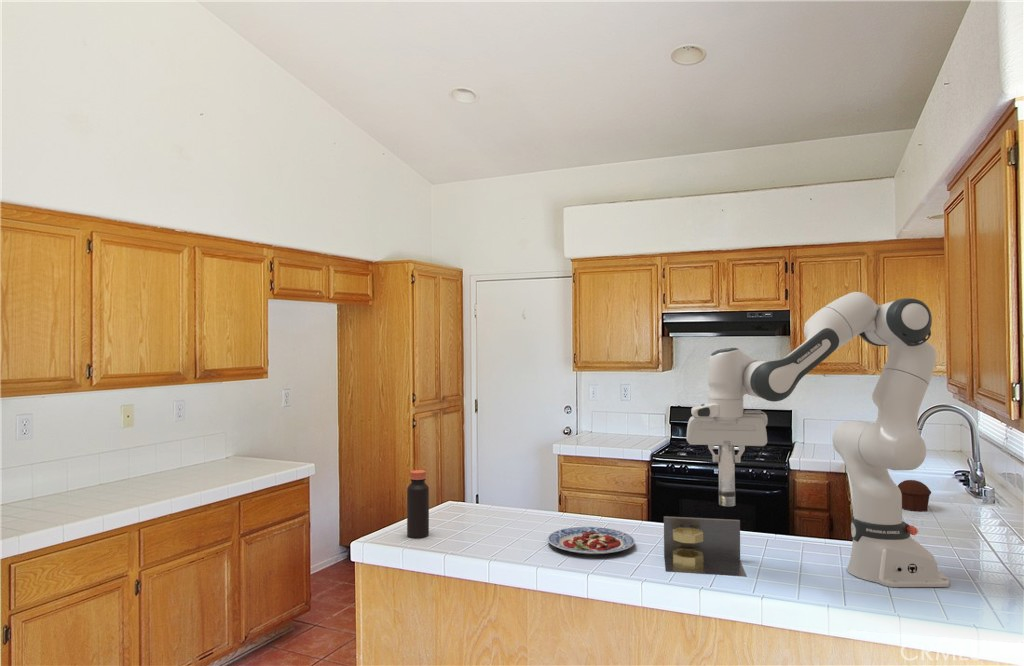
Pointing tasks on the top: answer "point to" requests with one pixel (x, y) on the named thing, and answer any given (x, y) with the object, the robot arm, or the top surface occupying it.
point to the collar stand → (702, 546)
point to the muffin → (914, 495)
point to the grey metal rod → (726, 474)
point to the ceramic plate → (591, 540)
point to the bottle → (417, 505)
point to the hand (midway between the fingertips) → (726, 462)
